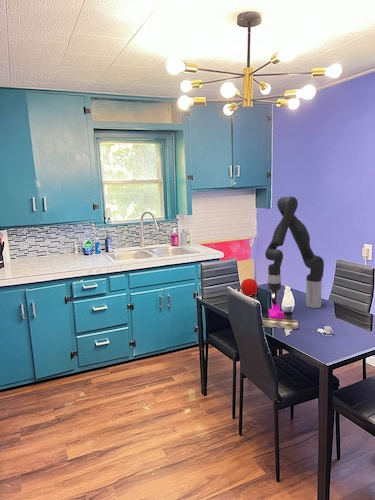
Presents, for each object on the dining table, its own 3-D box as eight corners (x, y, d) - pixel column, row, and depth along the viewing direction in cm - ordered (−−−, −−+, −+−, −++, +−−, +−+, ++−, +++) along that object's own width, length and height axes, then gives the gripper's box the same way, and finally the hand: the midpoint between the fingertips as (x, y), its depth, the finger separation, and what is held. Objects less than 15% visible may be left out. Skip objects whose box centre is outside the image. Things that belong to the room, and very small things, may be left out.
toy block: (268, 315, 226) (268, 304, 225) (278, 315, 226) (278, 303, 224) (273, 325, 211) (273, 312, 210) (284, 325, 211) (284, 312, 210)
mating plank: (297, 327, 207) (297, 320, 207) (297, 329, 204) (297, 323, 203) (261, 323, 214) (261, 317, 214) (260, 326, 211) (260, 320, 210)
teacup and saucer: (314, 332, 200) (315, 325, 200) (326, 329, 203) (327, 322, 202) (326, 338, 192) (326, 331, 192) (338, 335, 195) (338, 328, 194)
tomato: (261, 296, 264) (261, 278, 261) (248, 299, 258) (248, 281, 255) (249, 291, 274) (249, 275, 272) (237, 295, 268) (237, 278, 266)
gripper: (279, 285, 217) (279, 312, 221) (282, 278, 229) (282, 304, 233) (266, 284, 220) (267, 311, 223) (269, 277, 232) (270, 304, 235)
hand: (274, 308), depth 228 cm, fingers closed
